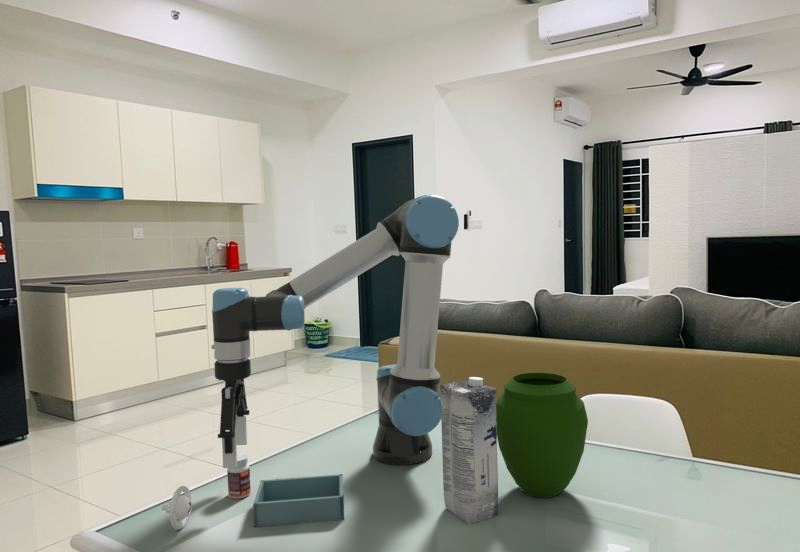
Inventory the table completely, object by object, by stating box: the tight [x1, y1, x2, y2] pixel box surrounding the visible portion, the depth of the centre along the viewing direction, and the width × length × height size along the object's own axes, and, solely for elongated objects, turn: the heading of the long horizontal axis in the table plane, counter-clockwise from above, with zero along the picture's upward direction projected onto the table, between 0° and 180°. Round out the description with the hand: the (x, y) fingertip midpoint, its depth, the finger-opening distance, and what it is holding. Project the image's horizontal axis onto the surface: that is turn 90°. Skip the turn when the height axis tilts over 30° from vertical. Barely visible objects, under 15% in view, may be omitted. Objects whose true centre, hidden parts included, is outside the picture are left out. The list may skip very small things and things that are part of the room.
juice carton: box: [439, 376, 499, 525], centre depth 117 cm, size 9×10×27 cm
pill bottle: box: [226, 453, 252, 500], centre depth 129 cm, size 5×5×8 cm
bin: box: [252, 473, 345, 528], centre depth 121 cm, size 17×11×5 cm, turn 96°
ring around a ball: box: [161, 485, 193, 531], centre depth 115 cm, size 8×6×8 cm
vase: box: [496, 372, 589, 499], centre depth 125 cm, size 20×20×24 cm
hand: (235, 455), depth 129 cm, fingers open, 13 cm apart
